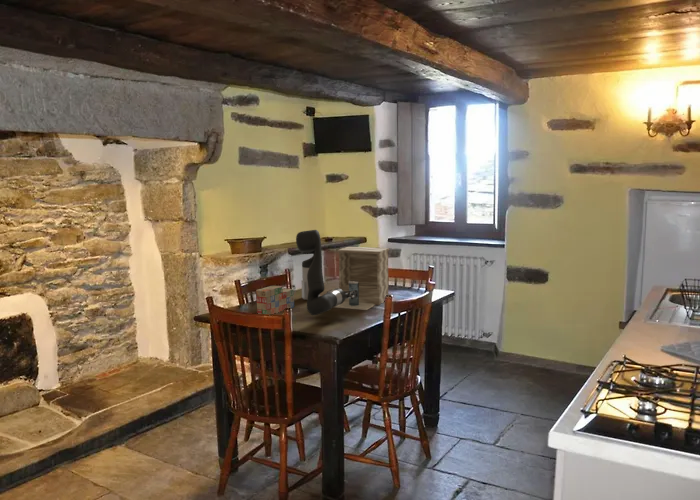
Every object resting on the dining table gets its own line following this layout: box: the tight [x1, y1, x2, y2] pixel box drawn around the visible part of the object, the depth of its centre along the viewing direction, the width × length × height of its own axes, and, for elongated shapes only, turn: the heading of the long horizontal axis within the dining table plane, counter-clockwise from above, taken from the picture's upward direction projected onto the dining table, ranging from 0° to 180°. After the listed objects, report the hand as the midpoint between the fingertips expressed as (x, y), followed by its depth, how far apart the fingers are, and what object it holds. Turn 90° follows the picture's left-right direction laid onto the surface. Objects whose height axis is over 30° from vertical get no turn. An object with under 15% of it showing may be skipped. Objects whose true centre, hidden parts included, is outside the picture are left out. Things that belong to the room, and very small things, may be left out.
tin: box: [349, 280, 359, 306], centre depth 285 cm, size 5×5×12 cm
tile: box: [335, 301, 375, 311], centre depth 286 cm, size 11×18×1 cm, turn 67°
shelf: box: [337, 246, 390, 306], centre depth 297 cm, size 15×23×27 cm, turn 67°
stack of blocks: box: [256, 285, 295, 315], centre depth 277 cm, size 21×6×12 cm, turn 149°
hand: (347, 291), depth 278 cm, fingers open, 8 cm apart
